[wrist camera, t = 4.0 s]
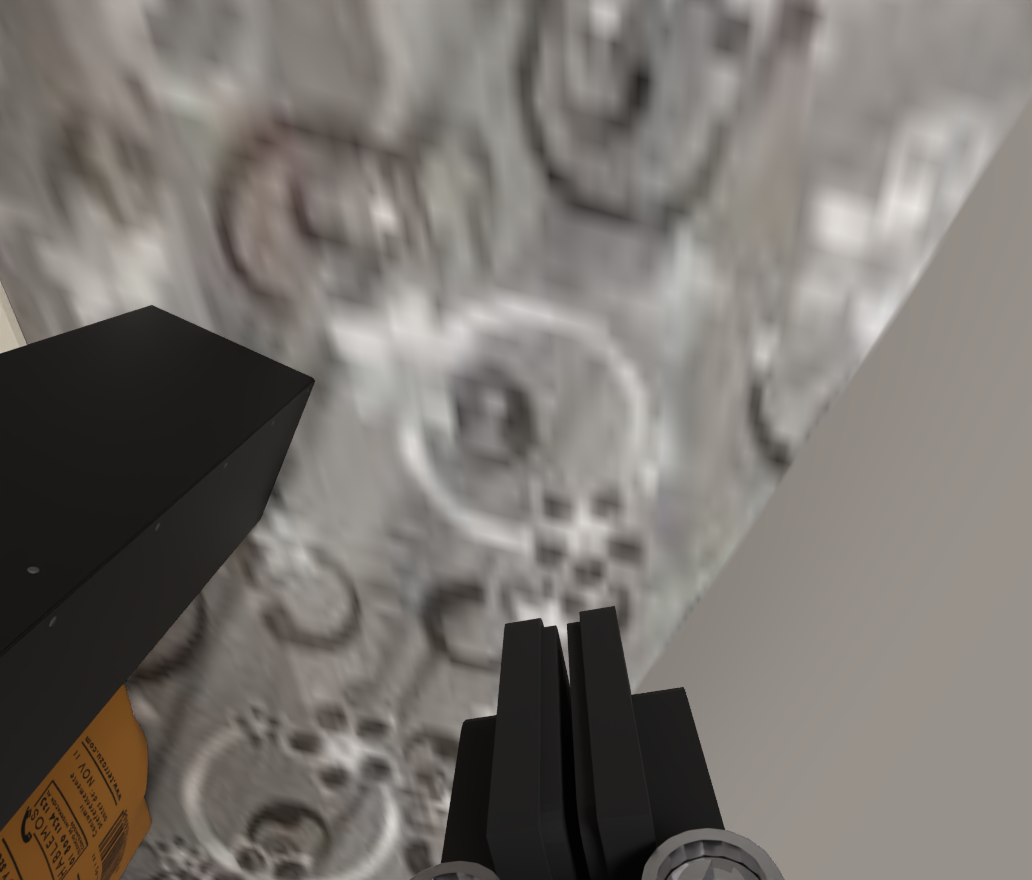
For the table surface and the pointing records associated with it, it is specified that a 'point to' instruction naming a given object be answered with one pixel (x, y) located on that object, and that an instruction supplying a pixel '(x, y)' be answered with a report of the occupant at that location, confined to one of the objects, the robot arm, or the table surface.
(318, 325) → the table surface
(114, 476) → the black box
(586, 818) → the robot arm
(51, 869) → the coffee package
